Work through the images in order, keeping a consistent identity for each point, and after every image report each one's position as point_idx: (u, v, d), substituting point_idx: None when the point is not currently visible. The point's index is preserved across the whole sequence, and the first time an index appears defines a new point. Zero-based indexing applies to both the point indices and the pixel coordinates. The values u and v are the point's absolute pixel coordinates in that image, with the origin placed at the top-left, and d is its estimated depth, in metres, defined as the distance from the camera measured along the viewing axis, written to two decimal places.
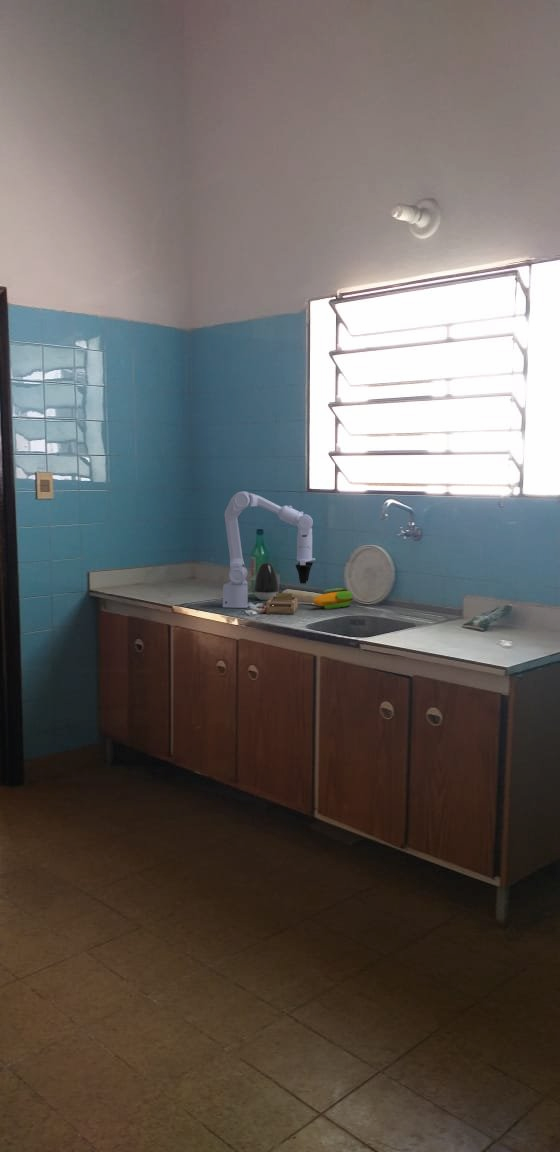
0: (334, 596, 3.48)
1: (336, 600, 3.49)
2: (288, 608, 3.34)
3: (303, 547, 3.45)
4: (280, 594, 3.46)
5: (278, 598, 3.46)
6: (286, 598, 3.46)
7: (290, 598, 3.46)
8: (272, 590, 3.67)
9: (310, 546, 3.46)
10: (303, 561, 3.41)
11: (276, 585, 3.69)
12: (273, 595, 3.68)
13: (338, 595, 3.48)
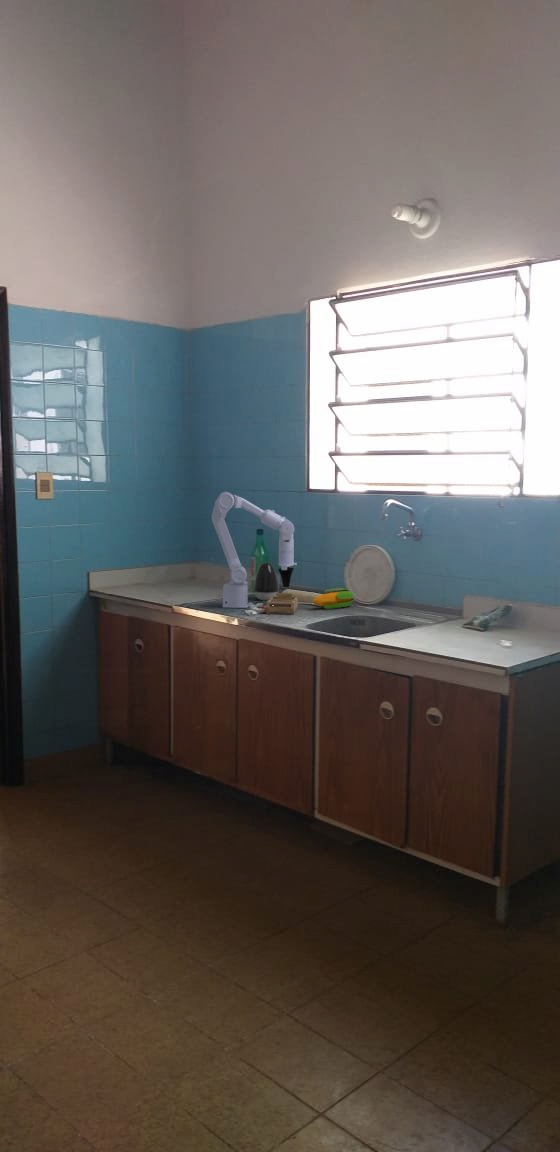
0: (334, 596, 3.48)
1: (336, 600, 3.48)
2: (288, 608, 3.34)
3: (284, 552, 3.48)
4: (280, 594, 3.46)
5: (278, 598, 3.46)
6: (286, 598, 3.46)
7: (290, 598, 3.46)
8: (272, 590, 3.67)
9: (292, 551, 3.50)
10: (285, 566, 3.44)
11: (276, 585, 3.69)
12: (273, 595, 3.68)
13: (338, 595, 3.48)
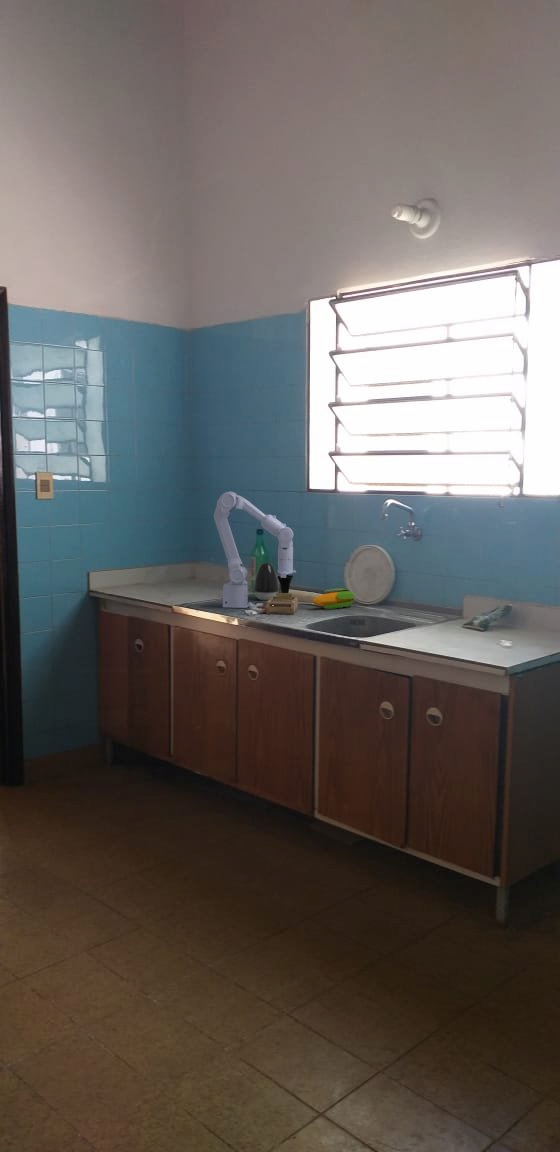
0: (334, 596, 3.48)
1: (336, 600, 3.48)
2: (288, 608, 3.34)
3: (284, 560, 3.46)
4: (280, 594, 3.46)
5: (278, 598, 3.46)
6: (286, 598, 3.46)
7: (290, 598, 3.46)
8: (272, 590, 3.67)
9: (291, 558, 3.47)
10: (284, 574, 3.42)
11: (276, 585, 3.69)
12: (273, 595, 3.68)
13: (338, 595, 3.48)
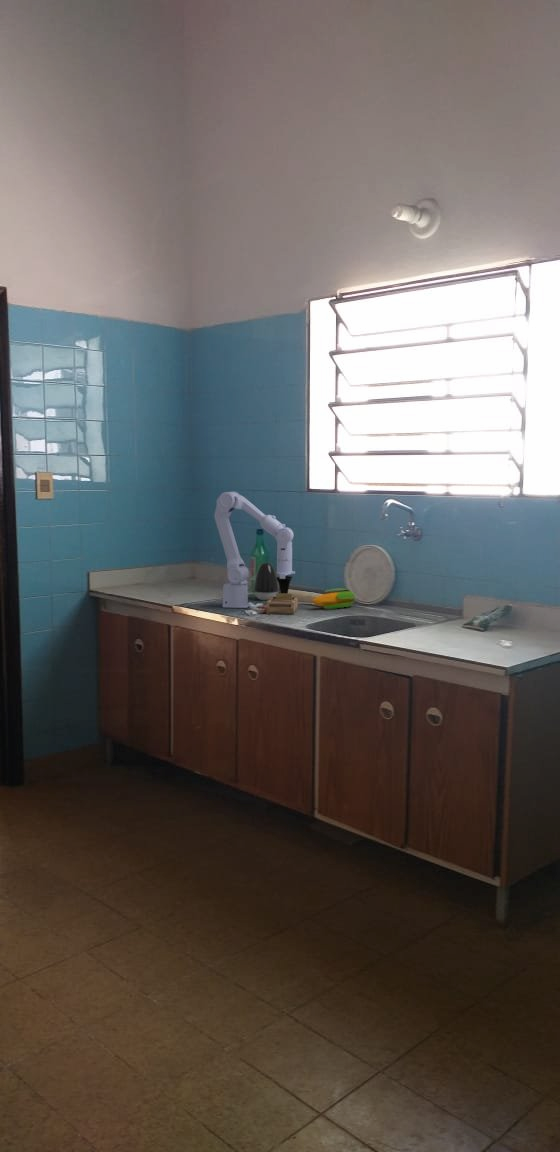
0: (334, 596, 3.47)
1: (337, 600, 3.48)
2: (288, 608, 3.34)
3: (283, 560, 3.43)
4: (280, 594, 3.46)
5: (278, 598, 3.46)
6: (286, 598, 3.46)
7: (290, 598, 3.45)
8: (272, 590, 3.67)
9: (289, 559, 3.44)
10: (283, 575, 3.39)
11: (276, 585, 3.69)
12: (273, 595, 3.68)
13: (339, 595, 3.47)
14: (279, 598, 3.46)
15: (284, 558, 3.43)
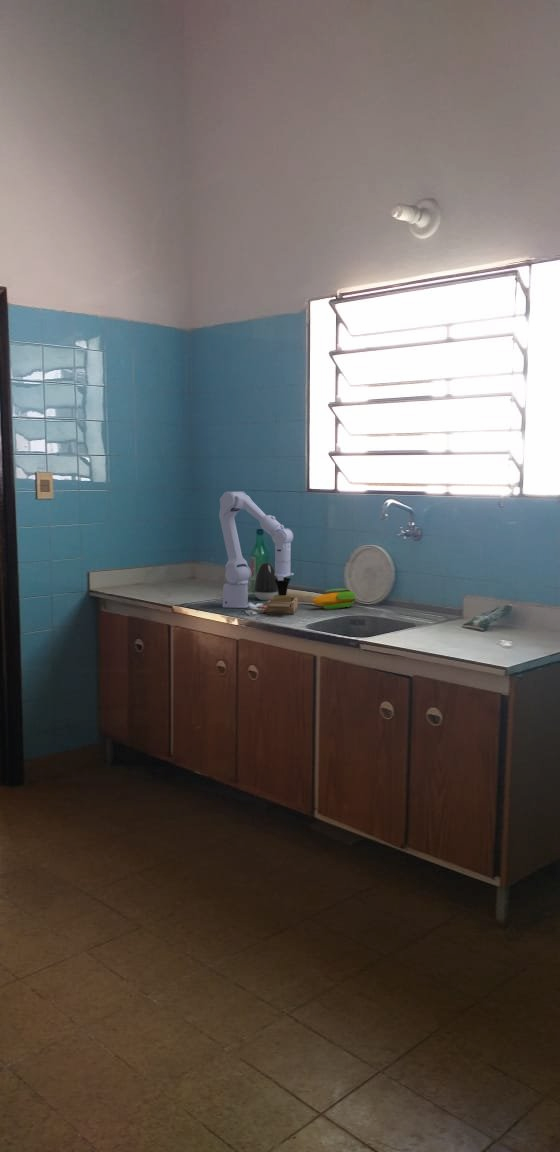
0: (335, 596, 3.47)
1: (337, 600, 3.47)
2: (288, 608, 3.34)
3: (281, 562, 3.38)
4: (278, 596, 3.40)
5: (276, 600, 3.40)
6: (284, 600, 3.40)
7: (288, 600, 3.40)
8: (272, 590, 3.67)
9: (285, 561, 3.38)
10: (281, 576, 3.34)
11: (276, 585, 3.69)
12: (273, 595, 3.68)
13: (339, 595, 3.47)
14: (277, 600, 3.40)
15: (280, 559, 3.37)
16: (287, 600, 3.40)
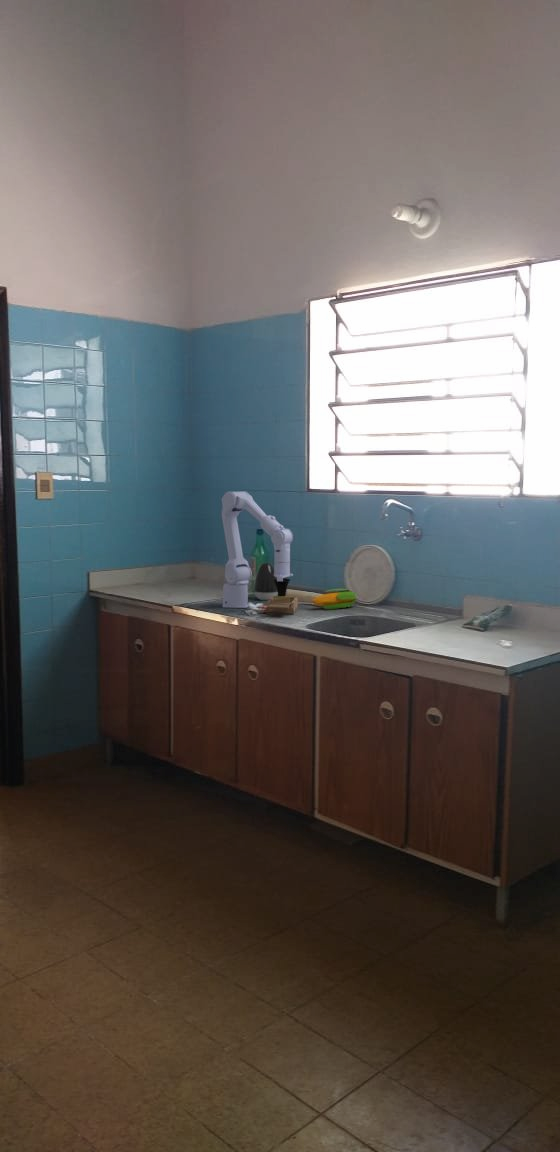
0: (335, 596, 3.47)
1: (337, 601, 3.47)
2: (288, 608, 3.34)
3: (280, 562, 3.35)
4: (277, 597, 3.38)
5: (275, 601, 3.38)
6: (283, 601, 3.38)
7: (288, 601, 3.38)
8: (272, 590, 3.67)
9: (284, 562, 3.35)
10: (280, 577, 3.31)
11: None
12: (273, 595, 3.68)
13: (339, 596, 3.47)
14: (276, 601, 3.38)
15: (279, 560, 3.35)
16: (286, 601, 3.38)
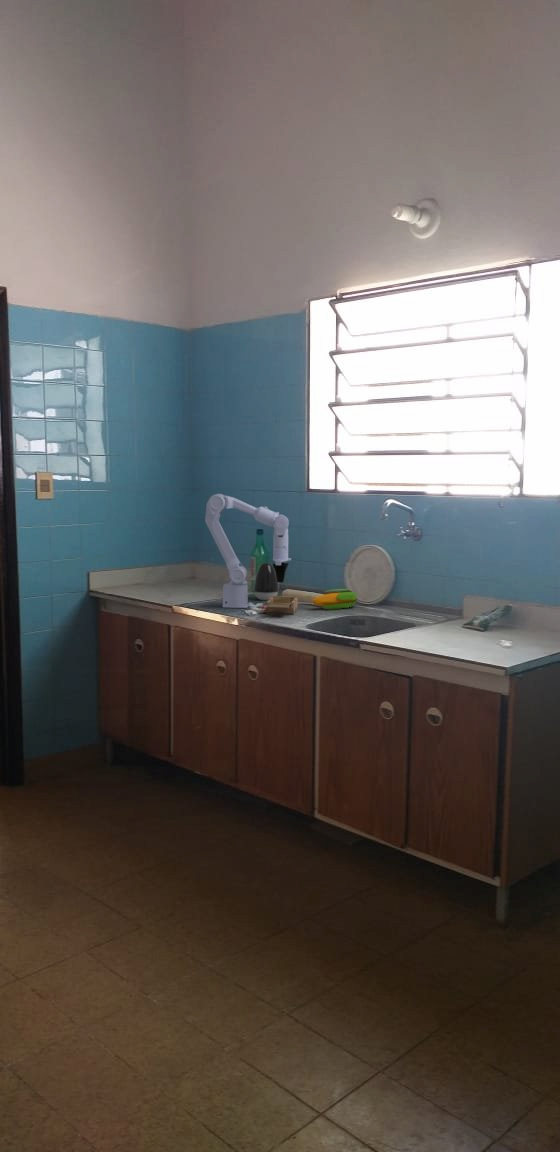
0: (335, 597, 3.46)
1: (337, 601, 3.47)
2: (288, 608, 3.34)
3: (279, 547, 3.46)
4: (277, 597, 3.38)
5: (275, 601, 3.38)
6: (283, 601, 3.38)
7: (288, 601, 3.37)
8: (272, 590, 3.67)
9: (286, 546, 3.47)
10: (279, 561, 3.42)
11: (276, 585, 3.69)
12: (273, 595, 3.68)
13: (339, 596, 3.46)
14: (276, 601, 3.38)
15: (282, 545, 3.46)
16: (286, 601, 3.38)
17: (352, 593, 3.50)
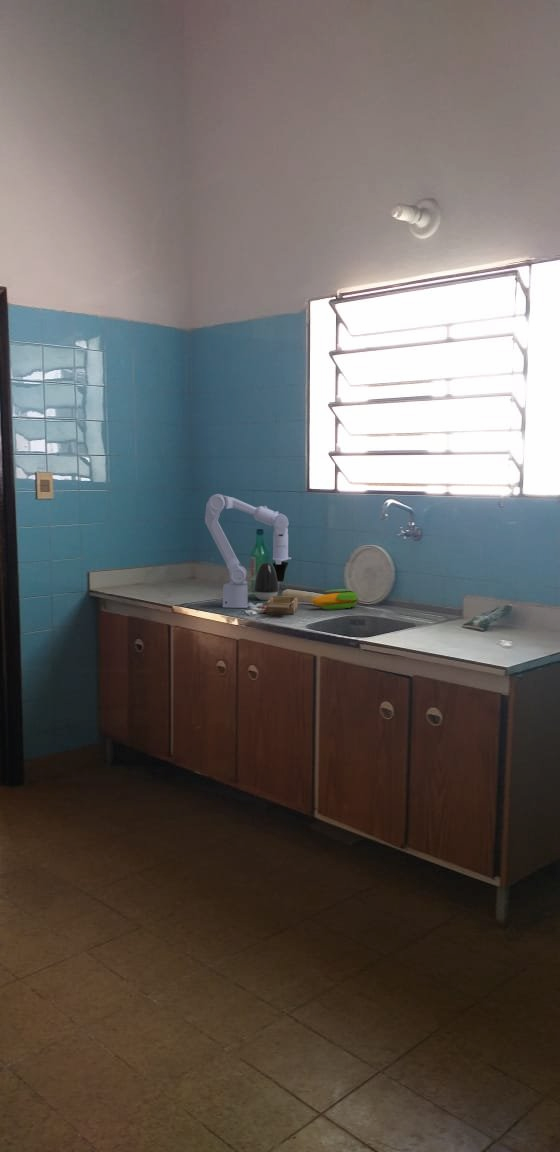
0: (335, 597, 3.46)
1: (337, 601, 3.46)
2: (288, 608, 3.34)
3: (279, 546, 3.47)
4: (277, 597, 3.38)
5: (275, 601, 3.38)
6: (283, 601, 3.38)
7: (288, 601, 3.37)
8: (272, 590, 3.67)
9: (286, 545, 3.48)
10: (279, 560, 3.43)
11: (276, 585, 3.69)
12: (273, 595, 3.68)
13: (339, 596, 3.46)
14: (276, 601, 3.38)
15: (282, 544, 3.47)
16: (286, 601, 3.38)
17: (353, 593, 3.49)
